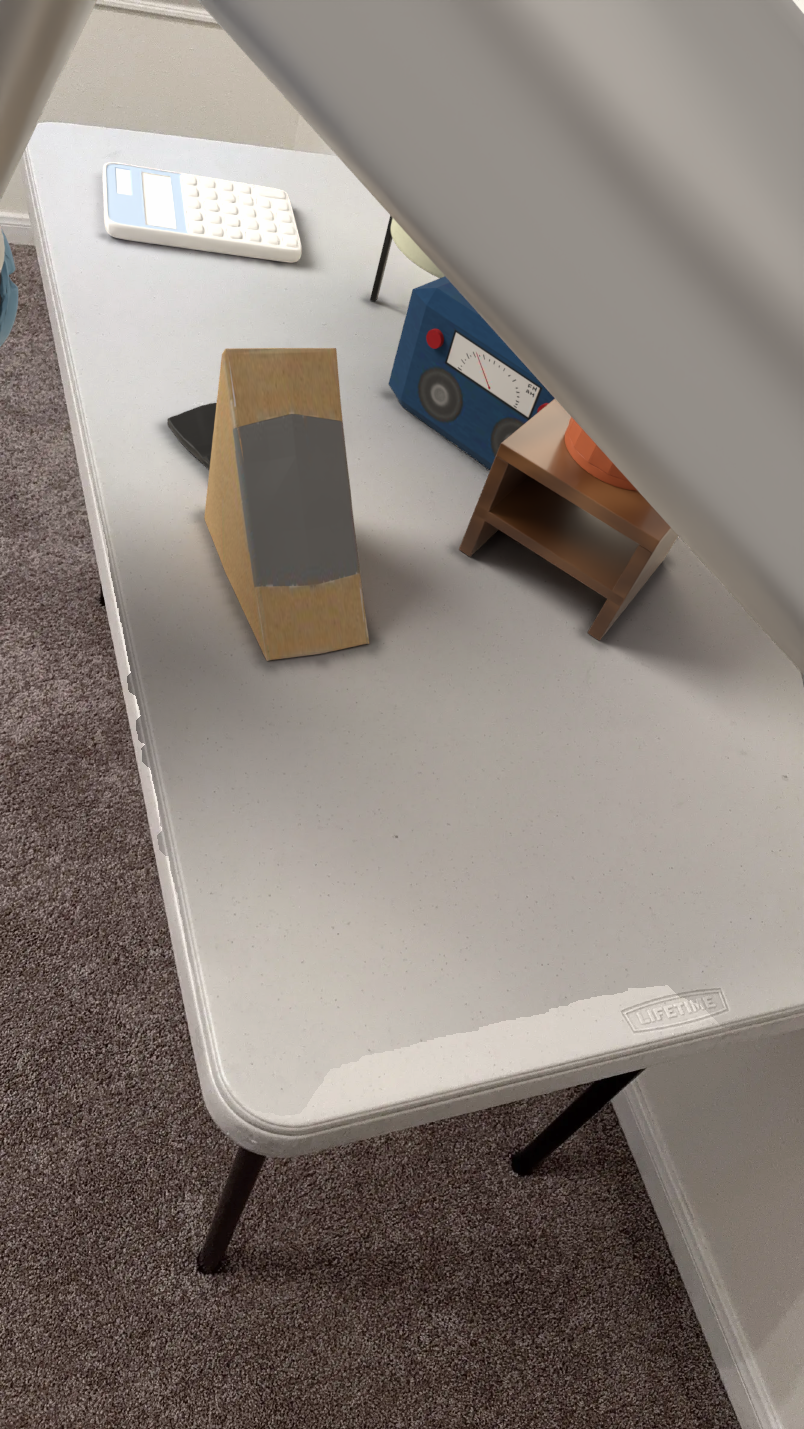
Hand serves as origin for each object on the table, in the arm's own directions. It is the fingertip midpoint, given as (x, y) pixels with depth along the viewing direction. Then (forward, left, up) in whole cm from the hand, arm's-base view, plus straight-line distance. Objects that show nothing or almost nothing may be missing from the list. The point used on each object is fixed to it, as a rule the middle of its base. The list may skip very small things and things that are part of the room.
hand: (771, 279), depth 56 cm
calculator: (-59, +23, -31) cm, 70 cm away
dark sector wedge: (-32, -2, -31) cm, 44 cm away
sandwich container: (-20, -12, -31) cm, 39 cm away
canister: (-5, +8, -20) cm, 22 cm away
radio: (-18, +16, -31) cm, 39 cm away
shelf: (-5, +8, -31) cm, 32 cm away
